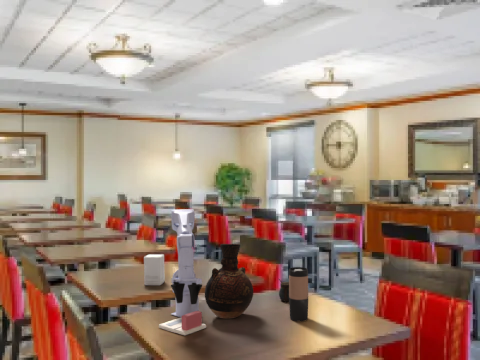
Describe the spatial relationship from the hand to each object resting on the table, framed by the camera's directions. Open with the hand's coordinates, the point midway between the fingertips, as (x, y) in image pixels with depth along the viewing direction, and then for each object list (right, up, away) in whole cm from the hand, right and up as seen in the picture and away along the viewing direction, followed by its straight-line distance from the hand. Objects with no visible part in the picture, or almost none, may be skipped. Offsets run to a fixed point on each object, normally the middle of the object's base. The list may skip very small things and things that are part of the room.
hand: (186, 303), depth 173 cm
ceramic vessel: (+15, -10, +18) cm, 26 cm away
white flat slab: (-4, -10, +6) cm, 13 cm away
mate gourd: (+41, -10, +41) cm, 59 cm away
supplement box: (-26, -10, +76) cm, 81 cm away
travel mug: (+43, -10, +14) cm, 47 cm away
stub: (+1, -10, +1) cm, 10 cm away
